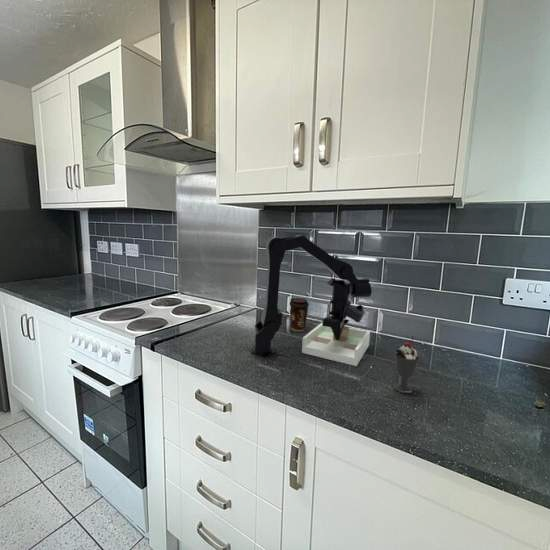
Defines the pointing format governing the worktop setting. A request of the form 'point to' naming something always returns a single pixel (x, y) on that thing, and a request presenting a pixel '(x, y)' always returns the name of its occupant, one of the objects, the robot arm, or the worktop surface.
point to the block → (343, 335)
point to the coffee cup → (298, 313)
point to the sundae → (406, 363)
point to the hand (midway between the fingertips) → (337, 339)
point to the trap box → (336, 345)
